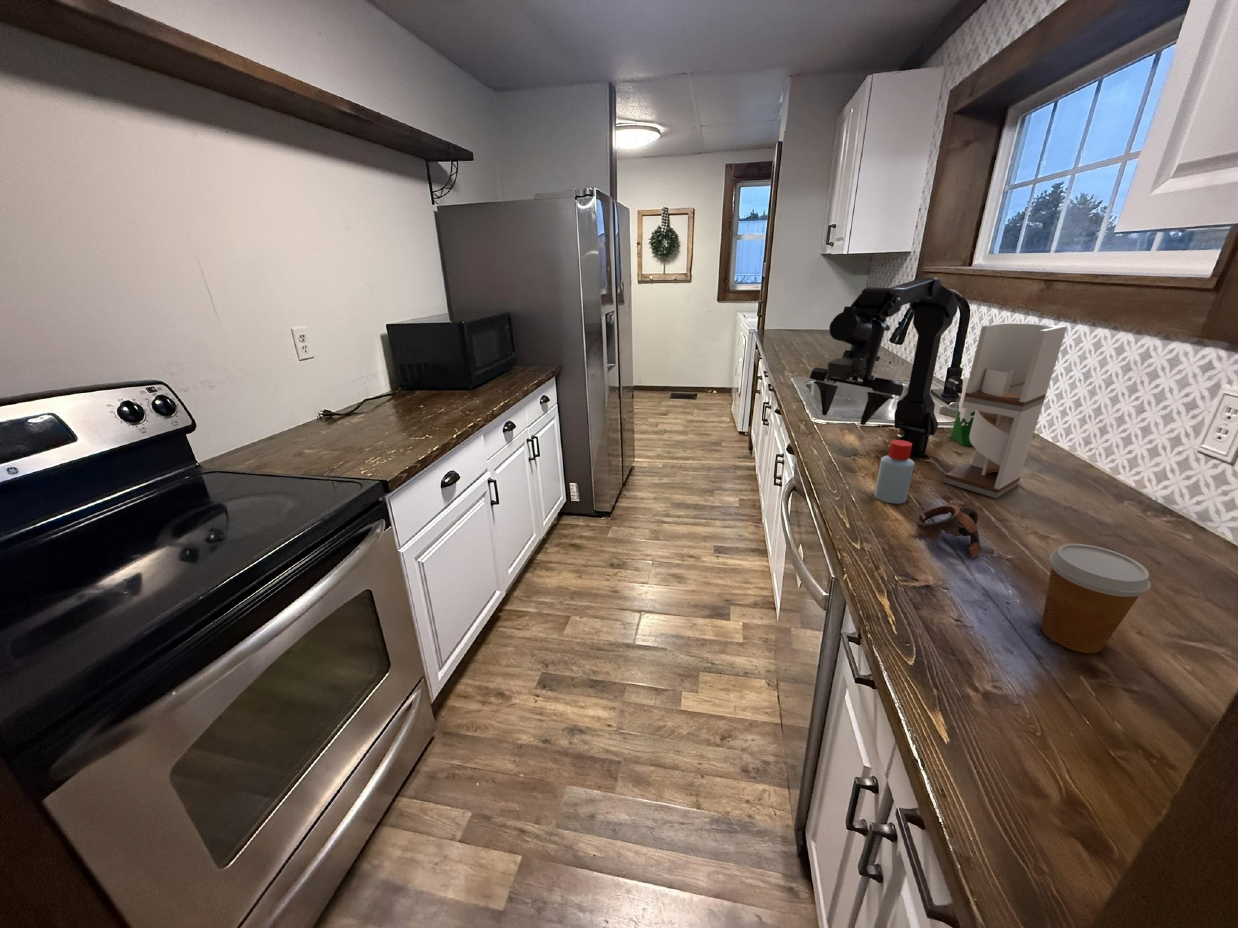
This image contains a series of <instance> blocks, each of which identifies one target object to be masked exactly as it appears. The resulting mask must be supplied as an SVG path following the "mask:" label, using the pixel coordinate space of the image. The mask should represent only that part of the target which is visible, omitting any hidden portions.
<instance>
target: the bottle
mask: <svg viewBox="0 0 1238 928" xmlns="http://www.w3.org/2000/svg"><path fill="white" fill-rule="evenodd" d="M914 468H915V462H914V460H913V459H911V458H909V459H908V460H897V459H893V458H890V457H889V456H888V455H884V456H882V457H881V459H880V462H879V469H878V473H877V479H876V484H875V488H874V489H875V490H874V495H873V496H874V497H875V498H876V499H877V500H878V501H881V502H884V503H887V504H895V505H898V504H899V505H901V504H904V503H906V502H907V499H908V496H909V491H910V486H911V481H912V476H913V472H914Z"/></svg>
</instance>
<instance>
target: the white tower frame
mask: <svg viewBox="0 0 1238 928" xmlns="http://www.w3.org/2000/svg"><path fill="white" fill-rule="evenodd" d="M1067 328H1068V326H1067V325H1059V324H1058V325H1056V324H1042V323H1041V324H1040V323H1027V322H1025V323H1024V322H1013V321H1012V322H1009V321H1004V322H997V323H992V324H987V325H982V326H981V328H980V333H979V337H978V341H977V345H976V349H975V352H974V356H973V361H972V365H971V368H970V373H969V375H968V376H969V381H968V385H967V389H966V393H965V397H964V401H963V405H962V408H966V409H972V410H976V412H975V416H974V419H973V423H972V427H971V431H970V435H969V439H970V442H971V444H972V445H973V446H972V447H973V448H974V449H975V451H974V456H973V459H972V463H971V462H967V463H964V464H963V465H961V466H958V467H956V468H954V469H952V470H950V471H948V472H946V473H945V474H944V478H943V481H942V482H943V483H945V484H948V485H952V486H954V487H959V488H962V489H964V490H968V491H971V492H975V493H978V494H981V495H984V496H987V497H991V498H994V499H998V498H999V497H1000V496H1002V495H1004V494H1006V493H1007V492H1009V491H1011V490H1012V489H1014V488H1016V487H1017V486H1019V482H1020V481H1021V480H1020V479H1021V476H1022V473H1023V470H1024V467H1025V464H1026V460H1027V457H1028V454H1029V450H1030V447H1031V444H1032V441H1033V438H1034V435H1035V431H1036V428H1037V425H1038V422H1039V420H1040V415H1041V412H1042V409H1043V405H1044V403H1045V399H1046V396H1047V393H1048V389H1049V386H1050V383H1051V380H1052V376H1053V374H1054V371H1055V367H1056V364H1057V361H1058V359H1059V358H1058V357H1059V355H1060V352H1061V348H1062V346H1063V345H1062V344H1063V342H1064V338H1065V335H1066V331H1067Z"/></svg>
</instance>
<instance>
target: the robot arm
mask: <svg viewBox="0 0 1238 928" xmlns="http://www.w3.org/2000/svg"><path fill="white" fill-rule="evenodd" d="M905 305H908V306H909V308H910V311H911V312H912V315H913V319H912V326H913V327H914V329H915V332H916V334H917V340H916V346H915V351H914V356H913V362H912V367H911V372H910V377H909V382H908V383H909V384H908V389H907V393H906V394H905V395H904V396H903V397H902V395H903V392H904V385H903V382H901V381H897V380H893V379H889V378H884V377H883V378H882V377H875V375H873V372H874V367H875V364H876V362H879V361H880V359H881V356H878V354H879V352H880V348H881V345H882V342H883V338H884V335H885V332H889V331H890V330H891V327H890V325H889V324H888V321H887V319H888V318H891V317H893V316H894V315H896V314H898V313H899V312H900V311H901V309H902V307H903V306H905ZM958 307H959V305H958V301H957V299H956V296H955V294H954V293H953V292H952V291H951V290H949V289H948V288H946V287H945V286H944V285H943V283H942V281H941V279H940V278H937V277H917V278H914V279H913V280H910V281H907V282H904V283H900V284H896V285H894V286H890V287H876V286H874V287H873V286H870V287H869V286H868V287H865V288H863V290H862V291H861V293H860V294H859V295H858V296H857V297H856V299H855V300H854V301H853V302H852V303H851V304H850V306H847V305H845V306H844V308H843V311H842V312H840V313H838V314H836V315H835V317H834V318H833V319H832V321H831V322H830V323H829V328H828V329H829V335H830V336H831V338H832V339H834V340H836V341H838V342H841V343H845V344H848V345H849V348H848V349H845V350H844V352H843V354H842V357H838V358H835V359H831V360H828V361H827V368H823V367H817V366H815V367H814V368H812V370H811V371H810V373H809V377H808V379H810V380H814V381H813V384H814V385H816V386H817V388H818V390H819V394H820V401H821V414H822V416H827V415H828V413H829V411H830V409H831V406H832V403H833V401H834V398H835V396H836V393H837V390H838V388H839V386H838V385H835V384H837V383H842V384H845V385H851V386H857V387H861V388H866V389H871V391H867V392H866V393H867V394H866V395H867V400H866V401H867V402H866V404H865V407H864V410H863V412H862V415H861V418H860V426H864V425H866V424H867V423H868V421H869V420H870V419H871V418H872V417H873V416H874V415H875V414H876V412H877V411H878V410H879V409H880V408H881V407H882V406H883V405H884V404H886V402H888V401H889V400H895V399H894V398H895V396H898V397H902V398H900V399H899V400H898V401H897V402H896V409H895V411H894V419H893V420H894V421H893V422H894V429H899V431H898V433H897V434H896V436H895V440H903V441H908V442H910V443H912V449H911V453H910V457H928V456H929V454H928V453H927V452H926V451H927V448H928V442H929V438H930V436H935V435H936V433H937V431H938V427H939V422H938V421H937V417H936V415H935V408H936V404H935V401H934V399H933V398H932V395H931V389H932V385H933V380H934V375H935V370H936V364H937V360H938V354H939V350H940V345H941V340H942V336H943V334H944V333H945V332H946V331H947V330H948V329H949V328H950V327H951V325H953V321H954V318H955V316H956V315H957V313H958ZM860 380H862V381H860ZM872 391H873V392H872Z"/></svg>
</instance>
